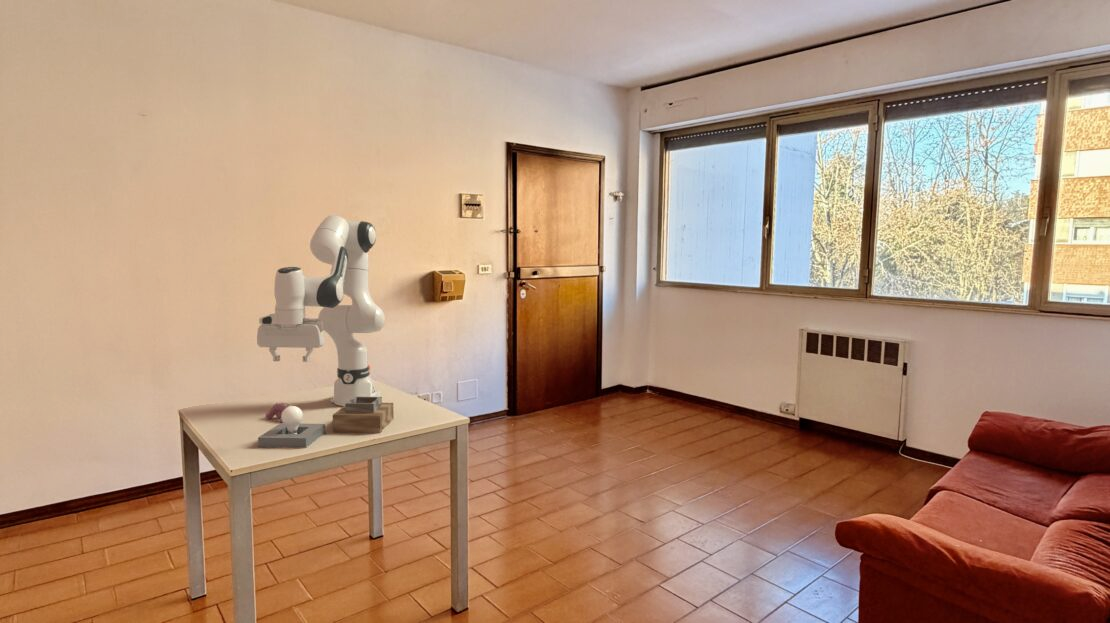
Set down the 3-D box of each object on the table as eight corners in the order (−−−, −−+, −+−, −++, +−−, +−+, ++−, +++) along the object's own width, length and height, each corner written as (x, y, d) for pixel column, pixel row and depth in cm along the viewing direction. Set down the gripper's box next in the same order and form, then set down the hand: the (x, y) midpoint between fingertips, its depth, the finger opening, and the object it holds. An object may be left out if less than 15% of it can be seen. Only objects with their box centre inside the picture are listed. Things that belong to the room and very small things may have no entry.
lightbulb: (277, 441, 192) (276, 407, 191) (291, 435, 198) (290, 402, 197) (294, 443, 190) (292, 409, 189) (307, 437, 196) (306, 404, 195)
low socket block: (280, 431, 201) (280, 423, 201) (325, 432, 201) (324, 423, 201) (258, 446, 187) (257, 437, 186) (306, 447, 186) (306, 438, 186)
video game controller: (291, 425, 214) (298, 406, 216) (280, 422, 210) (288, 403, 212) (274, 421, 219) (281, 402, 221) (263, 418, 215) (270, 399, 217)
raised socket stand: (349, 418, 218) (349, 394, 217) (393, 418, 218) (393, 394, 217) (333, 432, 202) (332, 406, 201) (380, 432, 202) (379, 406, 201)
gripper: (326, 317, 193) (327, 360, 194) (263, 317, 194) (264, 359, 195) (318, 319, 187) (319, 363, 188) (253, 318, 187) (255, 362, 188)
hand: (291, 361), depth 191 cm, fingers open, 8 cm apart
